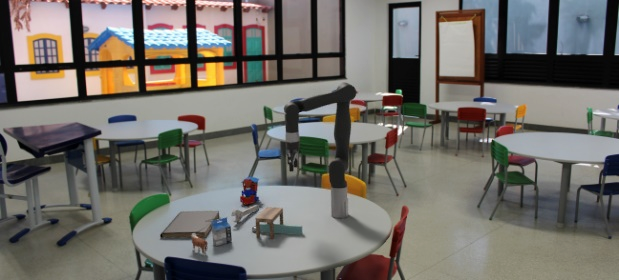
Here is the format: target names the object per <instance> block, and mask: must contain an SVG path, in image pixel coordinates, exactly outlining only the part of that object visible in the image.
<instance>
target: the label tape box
mask: <svg viewBox="0 0 619 280" xmlns="http://www.w3.org/2000/svg"><path fill="white" fill-rule="evenodd" d="M211 234H212V244H213V246H215V247H219V246H222V245H226V244H229V243H232V242H233V241H232V240H233V239H232V227H231V225H230V223H229V222H228V217H222V218H219V219H218V218H217V219H216V220H214V221H212V227H211Z"/></svg>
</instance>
